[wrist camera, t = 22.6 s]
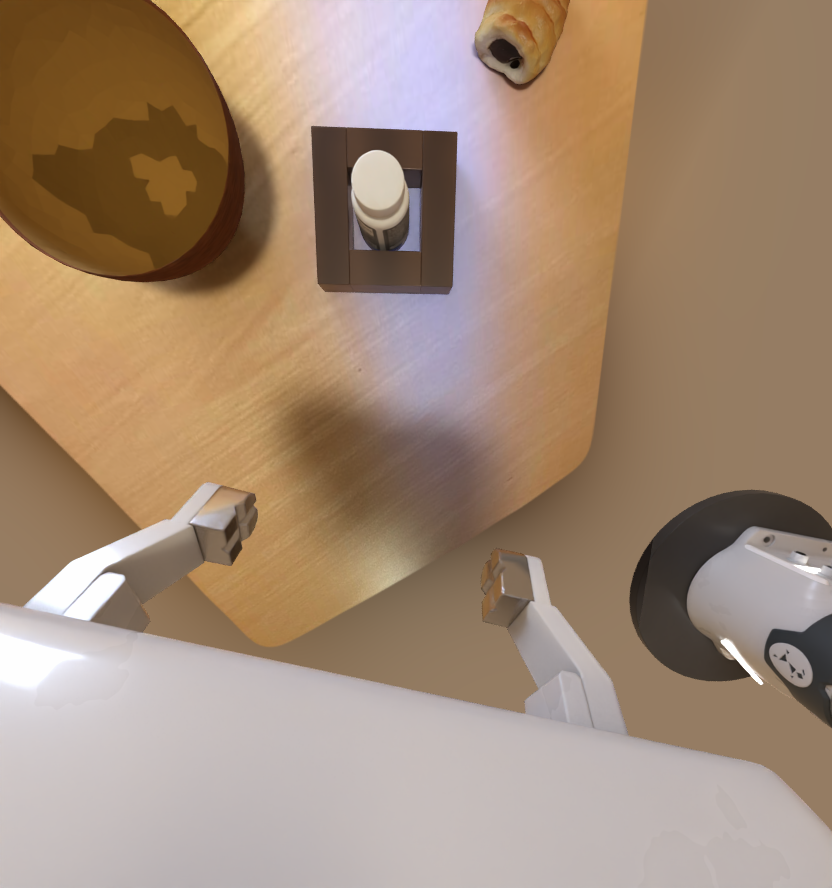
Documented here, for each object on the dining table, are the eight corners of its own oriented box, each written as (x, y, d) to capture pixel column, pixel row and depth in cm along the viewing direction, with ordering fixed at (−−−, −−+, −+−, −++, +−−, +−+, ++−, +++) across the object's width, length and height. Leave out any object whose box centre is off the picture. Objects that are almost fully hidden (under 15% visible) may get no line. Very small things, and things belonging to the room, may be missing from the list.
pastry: (521, -56, 29) (538, -119, 26) (584, -6, 30) (610, -60, 26) (467, 57, 31) (476, 13, 27) (528, 101, 32) (545, 65, 28)
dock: (452, 153, 32) (457, 131, 29) (448, 294, 35) (452, 287, 32) (319, 148, 32) (310, 125, 29) (324, 291, 34) (317, 283, 31)
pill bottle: (408, 202, 33) (410, 144, 25) (408, 254, 34) (410, 215, 26) (359, 201, 33) (344, 142, 24) (361, 254, 34) (347, 214, 25)
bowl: (51, 191, 32) (-108, 109, 22) (181, 50, 30) (73, -109, 20) (193, 342, 35) (110, 329, 25) (319, 222, 33) (283, 157, 23)
